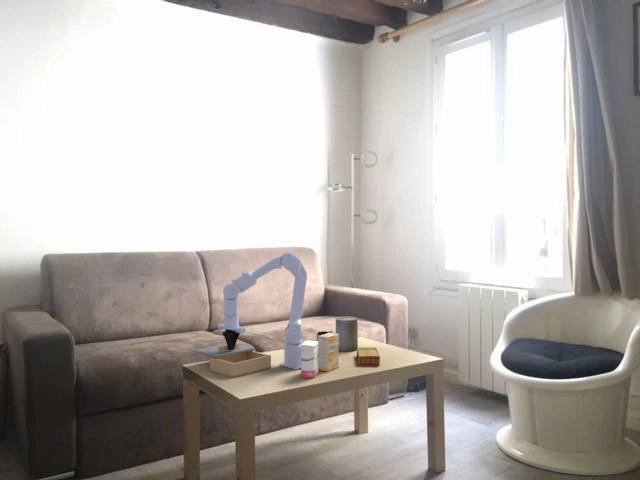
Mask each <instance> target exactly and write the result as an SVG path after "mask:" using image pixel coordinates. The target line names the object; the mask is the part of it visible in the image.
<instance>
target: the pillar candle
mask: <svg viewBox="0 0 640 480" xmlns="http://www.w3.org/2000/svg"><path fill="white" fill-rule="evenodd" d="M358 328H359V327H358V317H356V316H348V315H346V316H345V315H344V316H337V317H335V333H336V334H339V351H342V352H354V351H357V348H359V342H358V340H359V337H358V335H359V333H358Z"/></svg>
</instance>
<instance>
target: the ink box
mask: <svg viewBox="0 0 640 480" xmlns="http://www.w3.org/2000/svg"><path fill="white" fill-rule="evenodd" d="M300 369H301V372H300V373H301V378H305V379H306V378H307V379H309V378H310V379H315V377H316V376H317V374H318V373H319V370H318V341H317V340H309V339H307V340H305V341H303V344H302V345H301V368H300Z"/></svg>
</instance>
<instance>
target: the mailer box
mask: <svg viewBox="0 0 640 480" xmlns="http://www.w3.org/2000/svg"><path fill="white" fill-rule="evenodd" d="M269 369H272V355H270V354H266V353H263V352H260V351H255V350H253V351H248V352H244V353H239V354H234V355H229V356H225V357H220V358H212V357H210V358H209V371H210V372H213V373H217V374H220V375H222V376H225V377H228V378H233V379H234V378H237V377H242V376H245V375H251V374H253V373H257V372H262V371H267V370H269Z"/></svg>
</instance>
